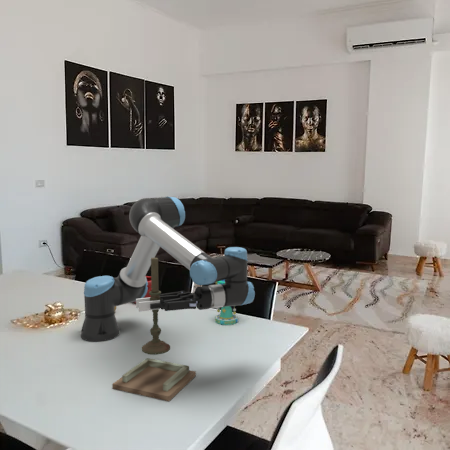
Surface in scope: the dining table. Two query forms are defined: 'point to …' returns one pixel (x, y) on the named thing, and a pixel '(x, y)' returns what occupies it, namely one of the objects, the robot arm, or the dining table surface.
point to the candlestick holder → (155, 316)
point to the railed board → (155, 379)
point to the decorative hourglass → (226, 313)
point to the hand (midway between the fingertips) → (137, 305)
